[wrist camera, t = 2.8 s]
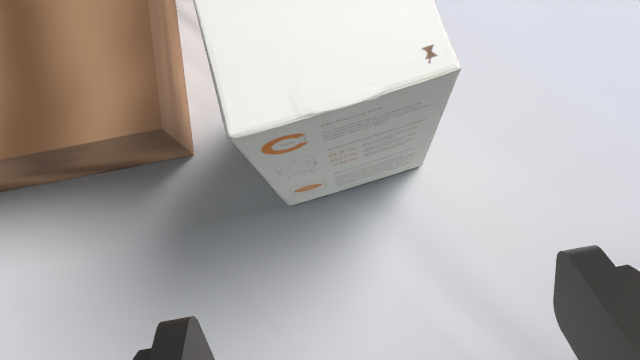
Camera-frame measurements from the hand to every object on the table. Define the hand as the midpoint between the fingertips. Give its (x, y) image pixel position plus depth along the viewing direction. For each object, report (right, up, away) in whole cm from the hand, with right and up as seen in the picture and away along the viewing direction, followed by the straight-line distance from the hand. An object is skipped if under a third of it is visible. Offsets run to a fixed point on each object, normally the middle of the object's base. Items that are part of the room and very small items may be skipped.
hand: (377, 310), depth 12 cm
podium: (-16, +9, +21) cm, 28 cm away
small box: (0, +5, +19) cm, 20 cm away
